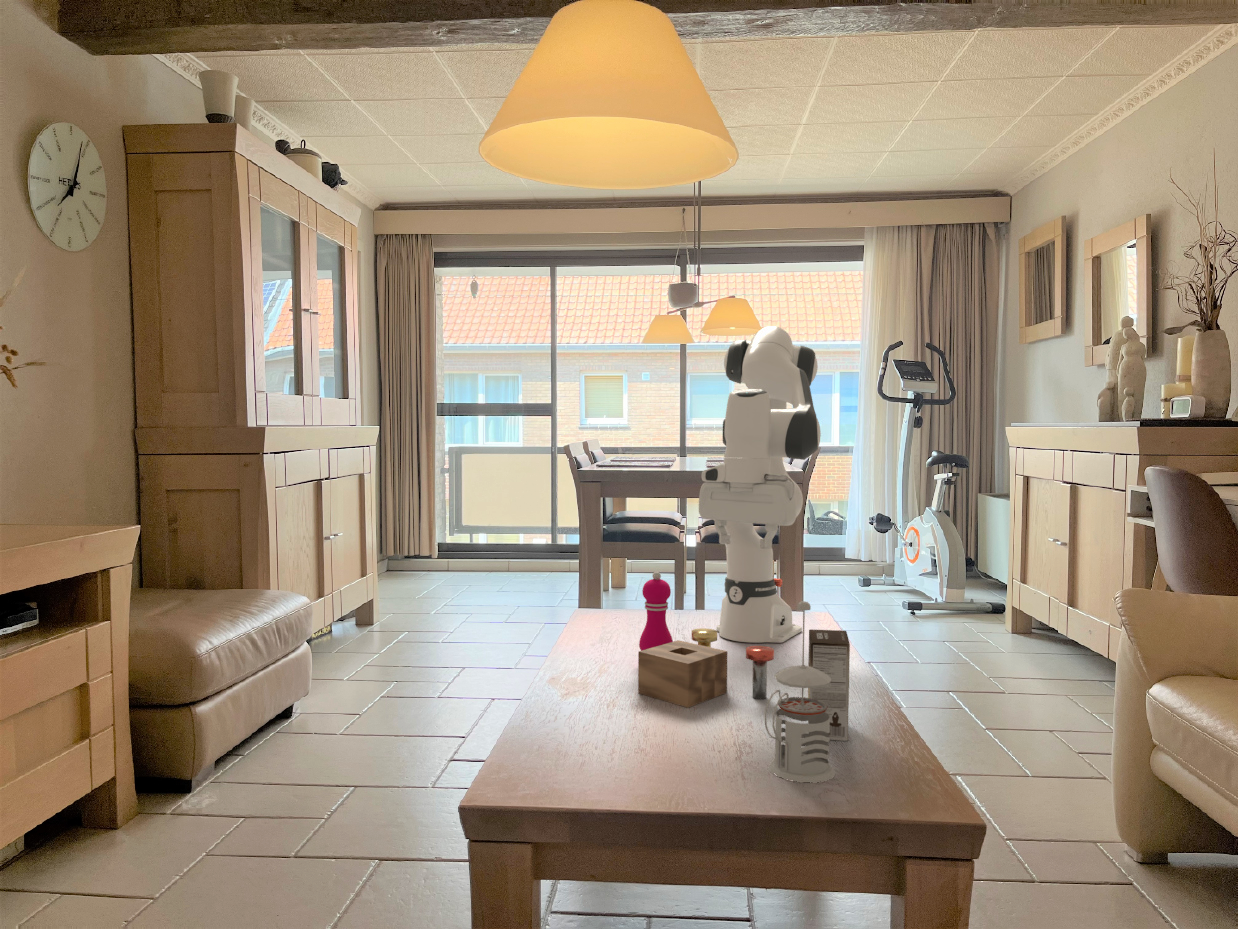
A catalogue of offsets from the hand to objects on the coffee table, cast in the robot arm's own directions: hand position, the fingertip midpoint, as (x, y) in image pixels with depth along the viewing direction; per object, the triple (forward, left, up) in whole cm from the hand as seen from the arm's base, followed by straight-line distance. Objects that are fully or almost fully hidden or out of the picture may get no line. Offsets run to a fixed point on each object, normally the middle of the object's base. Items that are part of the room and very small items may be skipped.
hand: (744, 546), depth 159 cm
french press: (+26, +27, -28) cm, 47 cm away
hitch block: (+9, -8, -28) cm, 30 cm away
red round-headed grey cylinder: (+1, +4, -28) cm, 28 cm away
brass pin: (-3, -12, -28) cm, 31 cm away
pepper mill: (-2, -24, -28) cm, 37 cm away
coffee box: (+8, +22, -28) cm, 37 cm away
